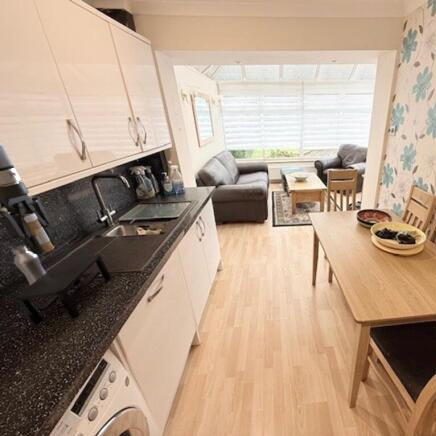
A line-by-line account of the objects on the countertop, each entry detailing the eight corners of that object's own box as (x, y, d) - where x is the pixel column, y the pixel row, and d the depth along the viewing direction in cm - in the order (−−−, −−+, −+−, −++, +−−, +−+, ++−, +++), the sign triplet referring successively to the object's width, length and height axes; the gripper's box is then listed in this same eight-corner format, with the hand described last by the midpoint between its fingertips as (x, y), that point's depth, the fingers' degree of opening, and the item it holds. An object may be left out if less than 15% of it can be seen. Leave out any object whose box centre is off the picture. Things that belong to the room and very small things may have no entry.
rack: (34, 324, 83) (14, 298, 77) (76, 282, 102) (63, 259, 97) (77, 317, 84) (60, 291, 79) (111, 277, 104) (99, 254, 98)
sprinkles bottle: (33, 254, 81) (10, 218, 75) (47, 247, 85) (26, 212, 79) (45, 254, 80) (23, 218, 74) (58, 246, 84) (38, 212, 78)
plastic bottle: (34, 288, 101) (7, 248, 92) (55, 280, 105) (31, 241, 96) (33, 295, 96) (4, 254, 88) (55, 287, 100) (29, 247, 91)
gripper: (-11, 192, 65) (35, 262, 75) (42, 175, 80) (74, 235, 90) (-41, 195, 64) (9, 265, 74) (18, 177, 80) (53, 238, 90)
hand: (45, 249), depth 82 cm, fingers closed on sprinkles bottle, 4 cm apart
